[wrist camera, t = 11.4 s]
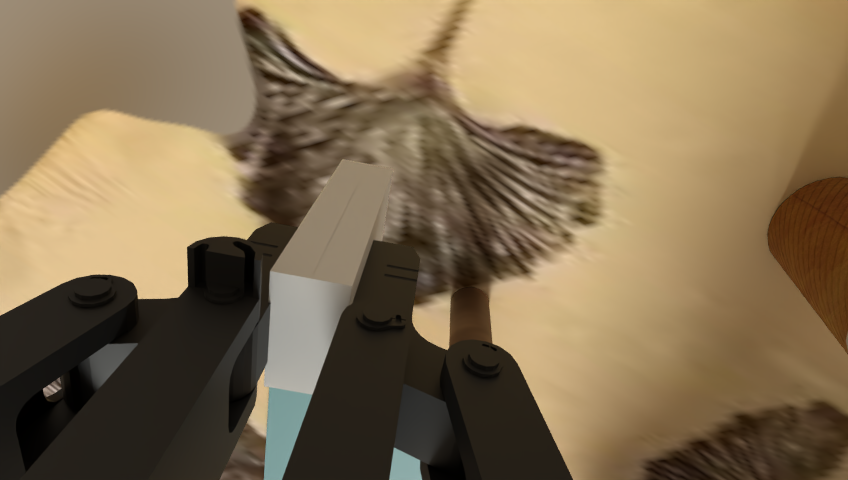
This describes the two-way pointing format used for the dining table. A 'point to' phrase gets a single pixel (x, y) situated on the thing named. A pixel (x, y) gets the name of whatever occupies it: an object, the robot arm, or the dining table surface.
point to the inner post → (470, 316)
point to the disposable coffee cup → (816, 249)
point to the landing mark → (286, 425)
